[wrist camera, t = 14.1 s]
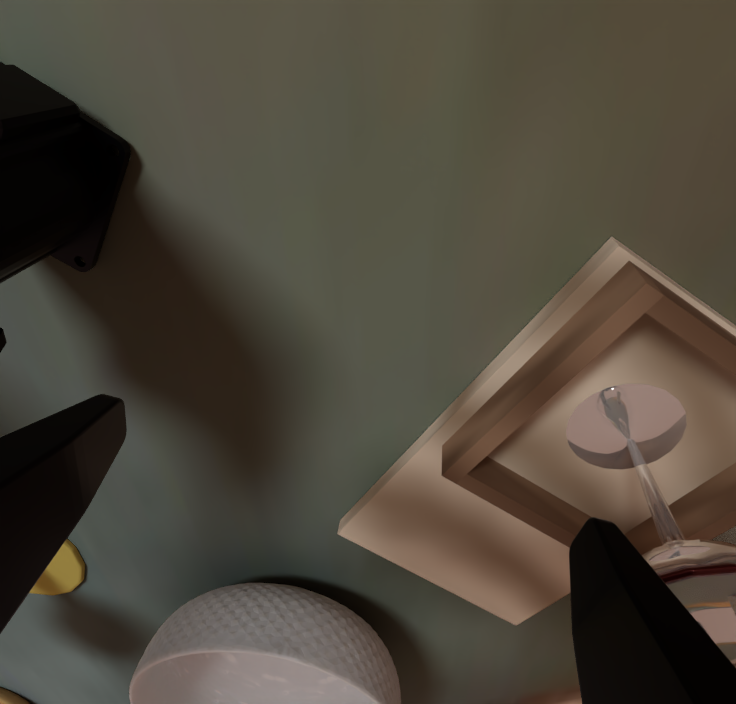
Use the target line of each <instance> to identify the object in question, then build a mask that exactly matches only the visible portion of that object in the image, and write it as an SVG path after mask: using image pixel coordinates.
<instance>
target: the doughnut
mask: <svg viewBox="0 0 736 704" xmlns="http://www.w3.org/2000/svg"><path fill="white" fill-rule="evenodd" d="M0 704H31V703H30V702H28V701H27V700H25V699H24V698H22V697H21V696H19V695H17V694H15V693H13V692H11V691H9V690H6V689H4V688H1V687H0Z"/></svg>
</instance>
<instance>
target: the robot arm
mask: <svg viewBox="0 0 736 704" xmlns="http://www.w3.org/2000/svg"><path fill="white" fill-rule="evenodd" d="M112 144H113V145H115V146H116V147H117V148H118V150H119V155H116V154H115V153H114V152H113V150H112ZM130 152H131V151H130V147H129V145H128V144H127V142H126V141H125V140H124V139H123V138H122V137H120V136H118V135H117V134H115V133H114V132H112V131H110V130H109V129H107V128H106V127H104V126H102V125H101V124H99V123H98V122H96V121H94V120H93V119H91V118H90V117H88V116H86V115H85V114H83V113H82V112H81V111H80V109H79V108H78V107H77V105H76V104H75V103H74V102H72V101H71V100H69V99H68V98H66V97H64V96H63V95H61V94H60V93H58V92H56V91H55V90H53V89H52V88H50V87H48V86H47V85H45V84H44V83H42V82H40V81H39V80H37V79H36V78H34V77H32V76H31V75H29V74H28V73H26V72H24V71H23V70H21V69H20V68H18V67H16V66H15V65H4V64H3V63H1V62H0V283H2V282H3V281H5V280H7V279H9V278H10V277H12V276H14V275H16V274H18V273H19V272H21V271H23V270H25V269H26V268H28V267H30V266H32V265H33V264H35V263H37V262H39V261H40V260H42V259H44V258H46V257H48V256H49V255H51V256H53V257H55V258H56V259H58V260H60V261H62V262H64V263H65V264H67V265H69V266H71V267H72V268H74V269H76V270H78V271H81V272H87V271H89V270H90V269H92V268H93V267H94V266H95V265H96V262H97V259H98V256H99V253H100V250H101V246H102V243H103V240H104V237H105V234H106V231H107V228H108V224H109V221H110V218H111V215H112V212H113V209H114V206H115V202H116V199H117V196H118V193H119V190H120V187H121V183H122V180H123V177H124V174H125V171H126V168H127V165H128V161H129V158H130ZM80 257H82V258H83V259H84V260H85V263H84V262H83V261H81V259H80ZM5 344H6V338H5V335H4V331H3V329H2V328H0V352H1V351H2V349H3V348H4V346H5ZM125 437H126V417H125V405H124V402H123V400H122V399H120V398H117V397H113V396H109V395H105V394H100V395H96V396H94V397H92V398H89V399H87V400H85V401H83V402H80V403H78V404H76V405H73V406H71V407H69V408H67V409H64V410H62V411H60V412H58V413H55V414H53V415H51V416H48V417H46V418H44V419H42V420H39V421H37V422H35V423H32V424H30V425H28V426H26V427H23V428H21V429H19V430H17V431H14V432H12V433H10V434H7V435H5V436H3V437H1V438H0V634H1V632H2V631H3V629H4V628H5V626H6V625H7V624H8V622H9V621H10V619H11V618H12V616H13V615H14V614H15V612H16V611H17V609H18V608H19V606H20V605H21V604H22V602H23V601H24V599H25V598H26V596H27V595H28V594H29V592H30V591H31V589H32V588H33V586H34V585H35V584H36V582H37V581H38V579H39V578H40V576H41V575H42V574H43V572H44V571H45V569H46V568H47V566H48V565H49V564H50V562H51V561H52V559H53V558H54V556H55V555H56V554H57V552H58V551H59V549H60V548H61V546H62V545H63V543H64V542H65V541H66V539H67V538H68V536H69V535H70V533H71V532H72V531H73V529H74V528H75V526H76V525H77V523H78V522H79V520H80V519H81V517H82V516H83V514H84V513H85V511H86V510H87V508H88V506H89V504H90V503H91V501H92V499H93V497H94V496H95V494H96V492H97V490H98V488H99V486H100V485H101V483H102V481H103V479H104V477H105V475H106V474H107V472H108V470H109V468H110V466H111V464H112V463H113V461H114V459H115V457H116V455H117V454H118V452H119V450H120V448H121V446H122V444H123V442H124V440H125ZM569 568H570V594H571V620H572V635H573V643H574V651H575V658H576V664H577V671H578V678H579V685H580V691H581V698H582V704H736V667H735V666H734V665H733V664H732V663H731V661H730V660H729V659H728V658H727V657H726V655H725V654H724V653H723V652H722V651H721V649H720V648H719V647H718V646H717V645H716V643H715V642H714V641H713V640H712V639H711V637H710V636H709V635H708V634H707V633H706V631H705V630H704V629H703V628H702V627H701V626H700V624H699V623H698V622H697V621H696V620H695V618H694V617H693V616H692V615H691V614H690V612H689V611H688V610H687V609H686V608H685V606H684V605H683V604H682V603H681V602H680V600H679V599H678V598H677V597H676V596H675V594H674V593H673V592H672V591H671V590H670V589H669V587H668V586H667V585H666V584H665V583H664V581H663V580H662V579H661V578H660V577H659V575H658V574H657V573H656V572H655V571H654V569H653V568H652V567H651V566H650V565H649V563H648V562H647V561H646V560H645V559H644V557H643V556H642V555H641V554H640V553H639V551H638V550H637V549H636V548H635V547H634V546H633V544H632V543H631V542H630V541H629V540H628V538H627V537H626V536H625V535H624V534H623V532H622V531H621V530H620V529H619V528H618V526H617V525H616V524H615V523H613V522H611V521H608V520H604V519H600V518H596V517H591V518H589V519H588V520H587V521H586V522H585V524H584V525H583V527H582V528H581V529H580V531H579V532H578V534H577V535H576V537H575V538H574V540H573V541H572V543H571V546H570V549H569Z"/></svg>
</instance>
